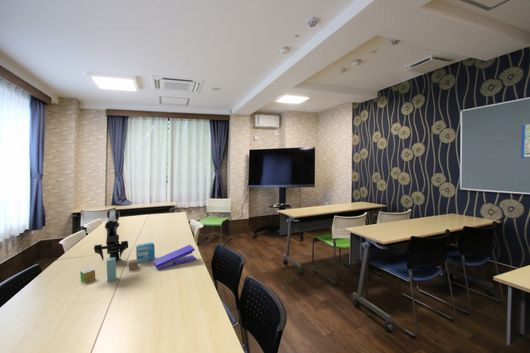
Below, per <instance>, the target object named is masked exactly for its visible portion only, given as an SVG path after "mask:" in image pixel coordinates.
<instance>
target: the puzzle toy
mask: <svg viewBox="0 0 530 353" xmlns="http://www.w3.org/2000/svg"><path fill="white" fill-rule="evenodd" d="M79 272H80V274H79V275H80V281H82V282H83V283H87V282H91V281H92V280H95V279H96V270H95V269H94V268H92V267H89V268H85V269H83V270H80V271H79Z"/></svg>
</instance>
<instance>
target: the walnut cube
mask: <svg viewBox="0 0 530 353" xmlns="http://www.w3.org/2000/svg"><path fill="white" fill-rule="evenodd" d="M128 268H129V271H132V270H137V269H138V268H139V267H138V262H137V258H136V259H130V260H128Z"/></svg>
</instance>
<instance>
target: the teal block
mask: <svg viewBox="0 0 530 353" xmlns="http://www.w3.org/2000/svg"><path fill="white" fill-rule="evenodd" d="M106 278H107V282H113V281H116V280H117V261H116V257H112V258H110V257H107V258H106Z"/></svg>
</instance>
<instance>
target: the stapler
mask: <svg viewBox="0 0 530 353" xmlns="http://www.w3.org/2000/svg"><path fill="white" fill-rule="evenodd" d="M195 251H196V249H195V248H194V246H192V244H187V245H185V246H183V247H181V248H179V249H176V250H174V251H171V252H169V253H166V254H164V255H162V256H160V257H157V258H154V259H153V264H154V267H155V268H156V270H158V271H159V270H163V269H167V268H171V267H175V266H179V265H183V264H184V265H185V264H187V263H192V262H196V261H197V260H198V258H197V257H195V256H194V255H193V252H195ZM191 254H192V255H191ZM195 260H196V261H195Z"/></svg>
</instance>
